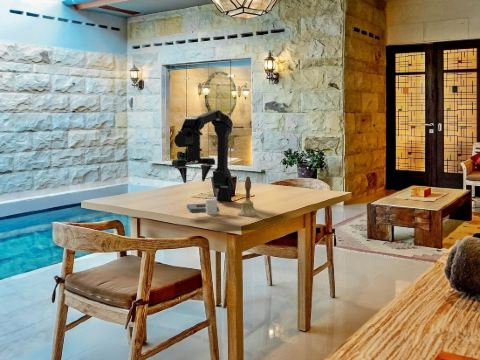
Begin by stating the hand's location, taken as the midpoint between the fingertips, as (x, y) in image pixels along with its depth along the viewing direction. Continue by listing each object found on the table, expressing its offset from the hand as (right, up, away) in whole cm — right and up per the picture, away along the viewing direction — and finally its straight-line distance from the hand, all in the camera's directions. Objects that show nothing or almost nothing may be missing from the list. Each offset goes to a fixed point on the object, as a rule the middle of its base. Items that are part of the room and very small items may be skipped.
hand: (194, 182), depth 226 cm
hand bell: (+23, -14, -9) cm, 28 cm away
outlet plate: (+3, -12, +3) cm, 13 cm away
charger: (+8, -13, -6) cm, 16 cm away
